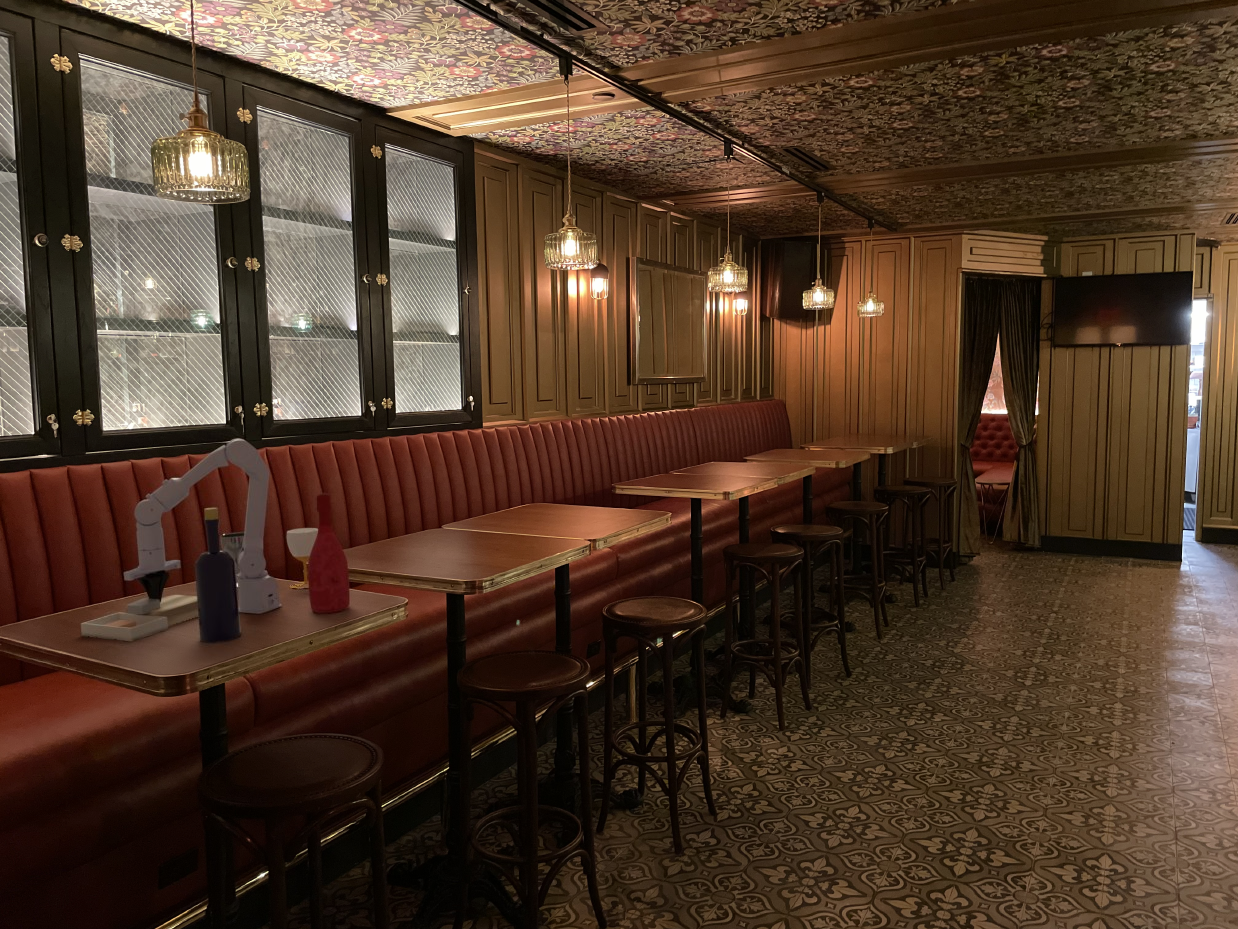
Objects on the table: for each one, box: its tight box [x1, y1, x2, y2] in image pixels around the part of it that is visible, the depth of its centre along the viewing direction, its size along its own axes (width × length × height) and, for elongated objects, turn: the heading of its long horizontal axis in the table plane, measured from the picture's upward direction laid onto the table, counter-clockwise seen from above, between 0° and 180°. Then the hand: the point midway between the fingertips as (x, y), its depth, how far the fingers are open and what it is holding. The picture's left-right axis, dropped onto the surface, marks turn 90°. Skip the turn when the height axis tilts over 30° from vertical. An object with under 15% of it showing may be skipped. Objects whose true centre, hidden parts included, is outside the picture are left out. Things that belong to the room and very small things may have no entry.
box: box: [80, 611, 169, 642], centre depth 206 cm, size 16×10×3 cm, turn 69°
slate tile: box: [126, 597, 160, 614], centre depth 211 cm, size 5×5×2 cm
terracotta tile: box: [105, 620, 136, 628], centre depth 205 cm, size 5×5×2 cm
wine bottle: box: [307, 492, 351, 614], centre depth 221 cm, size 10×10×30 cm
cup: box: [286, 527, 318, 590], centre depth 249 cm, size 9×9×16 cm
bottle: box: [194, 507, 242, 644], centre depth 199 cm, size 9×9×30 cm
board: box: [125, 594, 199, 627], centre depth 218 cm, size 12×14×4 cm
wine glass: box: [219, 531, 244, 587], centre depth 252 cm, size 8×8×15 cm
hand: (155, 602), depth 214 cm, fingers closed
